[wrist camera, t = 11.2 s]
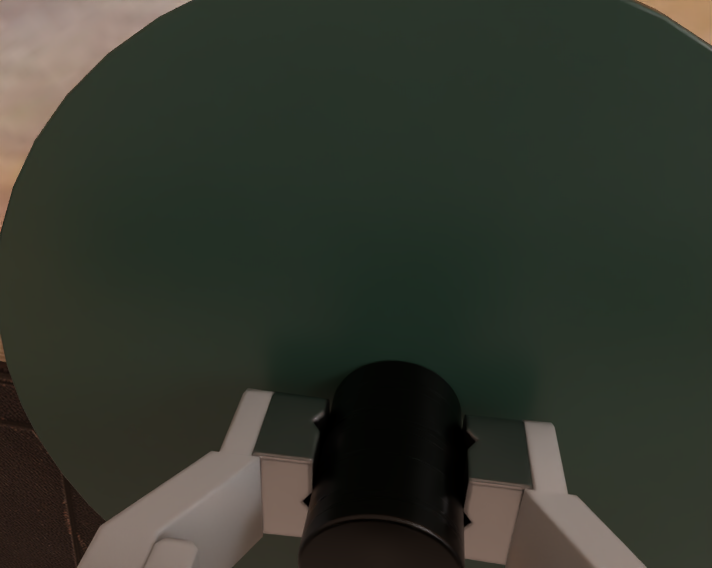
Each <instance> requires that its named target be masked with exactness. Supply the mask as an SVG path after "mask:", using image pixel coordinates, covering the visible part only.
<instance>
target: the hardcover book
mask: <svg viewBox="0 0 712 568" xmlns="http://www.w3.org/2000/svg"><path fill="white" fill-rule="evenodd" d="M105 522H106V521H105V520H104V519H103V518H102V517H101V516H100V515H99V514H98V513H97V512H96V511H95V510H94V509H93V508H92V507H91V506H89V504H88V503H87V502H86V501H85V500H84V499H83V497H82V496H81V495H80V494H79V493H78V492H77V490H76V489H75V488H74V487H73V486H72V485H71V483H70V482H69V481H68V480H67V479H66V478H65V476H64V475H63V474H62V472H61V471H60V470H59V468H58V467H57V465H56V464H55V462H54V461H53V459H52V458H51V456H50V455H49V453H48V452H47V450H46V449H45V448H44V446H43V445H42V443H41V442H40V440H39V438H38V436H37V434H36V432H35V430H34V428H33V426H32V425H31V423H30V421H29V419H28V417H27V415H26V413H25V411H24V409H23V407H22V405H21V403H20V400H19V397H18V395H17V392H16V389H15V386H14V384H13V381H12V378H11V375H10V373H9V370H8V367H7V364H6V359H5V354H4V350H3V345H2V340H1V336H0V568H77V566H78V565H79V563H80V561H81V559H82V557H83V556H84V554H85V552H86V550H87V548H88V547H89V545H90V543H91V541H92V539H93V538H94V536H95V534H96V532H97V530H98V529H99V527H100V526H101V525H102V524H104V523H105Z"/></svg>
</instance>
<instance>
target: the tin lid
mask: <svg viewBox="0 0 712 568" xmlns="http://www.w3.org/2000/svg"><path fill="white" fill-rule="evenodd" d="M0 336H1V340H2V345H3V350H4V354H5V359H6V364H7V367H8V370H9V373H10V375H11V378H12V381H13V384H14V386H15V389H16V392H17V395H18V397H19V400H20V403H21V405H22V407H23V409H24V411H25V413H26V415H27V417H28V419H29V421H30V423H31V425H32V426H33V428H34V430H35V432H36V434H37V436H38V438H39V440H40V442H41V443H42V445H43V446H44V448H45V449H46V450H47V452H48V453H49V455H50V456H51V458H52V459H53V461H54V462H55V464H56V465H57V467H58V468H59V470H60V471H61V472H62V474H63V475H64V476H65V478H66V479H67V480H68V481H69V482H70V483H71V485H72V486H73V487H74V488H75V489H76V490H77V492H78V493H79V494H80V495H81V496H82V497H83V499H84V500H85V501H86V502H87V503H88V504H89V506H91V507H92V508H93V509H94V510H95V511H96V512H97V513H98V514H99V515H100V516H101V517H102V518H103V519H104V520H105V521H106V522H107V521H108V520H110V519H111V518H113V517H114V516H115V515H117V514H118V513H120V512H121V511H123V510H124V509H126V508H127V507H129V506H130V505H132V504H133V503H135V502H136V501H138V500H139V499H141V498H142V497H144V496H145V495H147V494H148V493H150V492H151V491H153V490H154V489H156V488H157V487H158V486H160V485H161V484H163V483H164V482H166V481H167V480H169V479H170V478H172V477H173V476H175V475H176V474H178V473H179V472H181V471H182V470H184V469H185V468H187V467H188V466H190V465H191V464H193V463H194V462H196V461H197V460H198V459H200V458H201V457H203V456H204V455H206V454H207V453H209V452H210V451H216V452H219V451H220V449H221V446H222V444H223V441H224V439H225V436H226V434H227V431H228V429H229V427H230V424H231V422H232V419H233V417H234V414H235V412H236V410H237V407H238V405H239V402H240V400H241V397H242V395H243V393H244V392H245V391H246V390H247V389H248V388H250V389H257V390H265V391H272V392H275V391H276V392H283V393H290V394H298V395H305V396H312V397H320V398H327V399H329V401H330V416H329V421H328V425H327V430H326V434H325V438H324V442H323V446H322V450H321V454H320V461H319V465H318V469H317V474H316V478H315V482H314V487H313V491H312V494H311V499H310V503H309V507H308V512H307V516H306V521H305V525H304V529H303V534H302V537H295V536H285V535H276V534H266V533H263V537H262V538H261V539H260V540H259V541H258V542H257V543H256V544H255V545H254V546H253V547H252V548H251V549H250V550H249V551H248V552H247V553H246V554H245V555H244V556H243V557H242V558H241V559H240V560H239V561H238V562H237V563H236V564H235V565H234V566H233V567H232V568H505V565H502V564H496V563H490V562H483V561H477V560H471V559H465V548H464V511H463V479H462V477H463V461H462V425H463V420H464V416H465V414H468V415H477V416H487V417H496V418H505V419H515V420H521V421H522V420H530V421H540V422H551V423H552V424H553V425H554V427H555V432H556V437H557V442H558V447H559V452H560V457H561V462H562V466H563V471H564V476H565V481H566V486H567V491H568V494H570V495H577V496H578V497H579V498H580V499H581V500H582V501H583V502H584V503H585V504H586V505H587V506H588V507H589V508H590V509H591V511H592V512H593V513H594V514H595V515H596V516H597V517H598V518H599V519H600V520H601V521H602V522H603V523H604V524H605V525H606V526H607V527H608V528H609V529H610V530H611V531H612V532H613V533H614V534H615V535H616V536H617V537H618V538H619V539H620V540H621V541H622V542H623V543H624V544H625V546H626V547H627V548H628V549H629V550H630V551H631V552H632V553H633V554H634V555H635V556H636V557H637V558H638V559H639V560H640V561H641V562H642V563H643V564H644V565H645V566H646V567H647V568H712V46H711V45H710V44H708V43H707V42H705V41H704V40H702V39H701V38H699V37H698V36H696V35H695V34H693V33H692V32H690V31H689V30H687V29H686V28H684V27H683V26H681V25H680V24H678V23H677V22H675V21H674V20H672V19H671V18H669V17H668V16H666V15H665V14H663V13H661V12H660V11H658V10H656V9H654V8H652V7H650V6H647V5H645V4H643V3H641V2H639V1H637V0H192V1H190V2H188V3H186V4H184V5H182V6H180V7H178V8H176V9H174V10H172V11H170V12H168V13H166V14H164V15H162V16H160V17H158V18H157V19H155V20H154V21H153V22H151V23H150V24H149V25H147V26H146V27H144V28H143V29H142V30H140V31H139V32H137V33H136V34H135V35H133V36H132V37H130V38H129V39H128V40H126V41H125V42H123V43H122V44H121V45H119V46H118V47H117V48H115V49H114V50H112V51H111V52H110V53H108V54H107V55H106V56H105V57H104V58H103V59H102V60H101V61H100V62H99V63H98V64H97V65H96V66H95V67H94V68H93V69H92V70H91V71H90V72H89V73H88V74H87V75H86V76H85V77H84V78H83V79H82V80H81V81H80V82H79V83H78V84H77V85H76V86H75V87H74V88H73V89H72V90H71V91H70V92H69V93H68V94H67V95H66V97H65V98H64V100H63V101H62V102H61V104H60V105H59V107H58V108H57V110H56V111H55V112H54V114H53V115H52V117H51V118H50V120H49V121H48V122H47V124H46V125H45V127H44V128H43V129H42V131H41V132H40V134H39V135H38V137H37V138H36V139H35V141H34V143H33V145H32V148H31V150H30V152H29V154H28V156H27V158H26V160H25V162H24V165H23V167H22V169H21V171H20V173H19V175H18V177H17V179H16V182H15V184H14V186H13V189H12V193H11V196H10V200H9V204H8V207H7V211H6V214H5V218H4V222H3V225H2V229H1V233H0Z"/></svg>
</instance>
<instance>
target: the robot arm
mask: <svg viewBox="0 0 712 568" xmlns="http://www.w3.org/2000/svg"><path fill="white" fill-rule="evenodd" d="M329 416H330V401H329V399H327V398H320V397H312V396H305V395H298V394H290V393H283V392H276V391H275V392H272V391H265V390H257V389H250V388H248V389H247V390H246V391H245V392H244V393H243V395H242V397H241V400H240V402H239V405H238V407H237V410H236V412H235V414H234V417H233V419H232V422H231V424H230V427H229V429H228V431H227V434H226V436H225V439H224V441H223V444H222V446H221V449H220V451H219V452H216V451H210V452H209V453H207V454H206V455H204V456H203V457H201V458H200V459H198V460H197V461H196V462H194V463H193V464H191V465H190V466H188V467H187V468H185V469H184V470H182V471H181V472H179V473H178V474H176V475H175V476H173V477H172V478H170V479H169V480H167V481H166V482H164V483H163V484H161V485H160V486H158V487H157V488H156V489H154V490H153V491H151V492H150V493H148V494H147V495H145V496H144V497H142V498H141V499H139V500H138V501H136V502H135V503H133V504H132V505H130V506H129V507H127V508H126V509H124V510H123V511H121V512H120V513H118V514H117V515H115V516H114V517H113V518H111V519H110V520H108V521H107V522H105V523H104V524H102V525H101V526H100V527H99V529H98V530H97V532H96V534H95V536H94V538H93V539H92V541H91V543H90V545H89V547H88V548H87V550H86V552H85V554H84V556H83V557H82V559H81V561H80V563H79V565H78V566H77V568H232V567H233V566H234V565H235V564H236V563H237V562H238V561H239V560H240V559H241V558H242V557H243V556H244V555H245V554H246V553H247V552H248V551H249V550H250V549H251V548H252V547H253V546H254V545H255V544H256V543H257V542H258V541H259V540H260V539H261V538H262V537H263V533H266V534H276V535H285V536H295V537H302V534H303V529H304V525H305V521H306V516H307V512H308V507H309V503H310V499H311V494H312V491H313V487H314V482H315V478H316V474H317V469H318V465H319V461H320V454H321V450H322V446H323V442H324V438H325V434H326V430H327V425H328V421H329ZM462 461H463V477H462V479H463V511H464V548H465V559H471V560H477V561H483V562H490V563H496V564H502V565H505V568H647V567H646V566H645V565H644V564H643V563H642V562H641V561H640V560H639V559H638V558H637V557H636V556H635V555H634V554H633V553H632V552H631V551H630V550H629V549H628V548H627V547H626V546H625V544H624V543H623V542H622V541H621V540H620V539H619V538H618V537H617V536H616V535H615V534H614V533H613V532H612V531H611V530H610V529H609V528H608V527H607V526H606V525H605V524H604V523H603V522H602V521H601V520H600V519H599V518H598V517H597V516H596V515H595V514H594V513H593V512H592V511H591V509H590V508H589V507H588V506H587V505H586V504H585V503H584V502H583V501H582V500H581V499H580V498H579V497H578V496H577V495H570V494H568V491H567V486H566V481H565V476H564V471H563V466H562V462H561V457H560V452H559V447H558V442H557V437H556V432H555V427H554V425H553V424H552V423H551V422H540V421H530V420H522V421H521V420H515V419H505V418H496V417H487V416H477V415H468V414H465V416H464V420H463V425H462Z"/></svg>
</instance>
